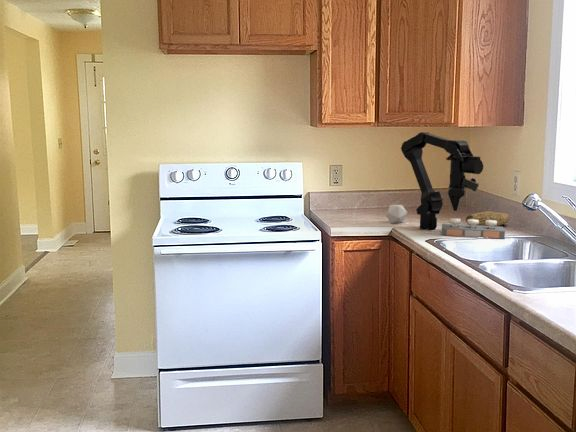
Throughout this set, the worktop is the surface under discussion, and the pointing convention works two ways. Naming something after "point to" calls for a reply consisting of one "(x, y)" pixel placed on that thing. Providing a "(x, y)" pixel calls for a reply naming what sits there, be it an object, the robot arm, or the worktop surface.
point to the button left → (454, 221)
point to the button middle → (472, 222)
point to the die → (396, 214)
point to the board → (473, 231)
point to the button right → (490, 223)
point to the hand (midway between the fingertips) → (455, 210)
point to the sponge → (489, 217)
